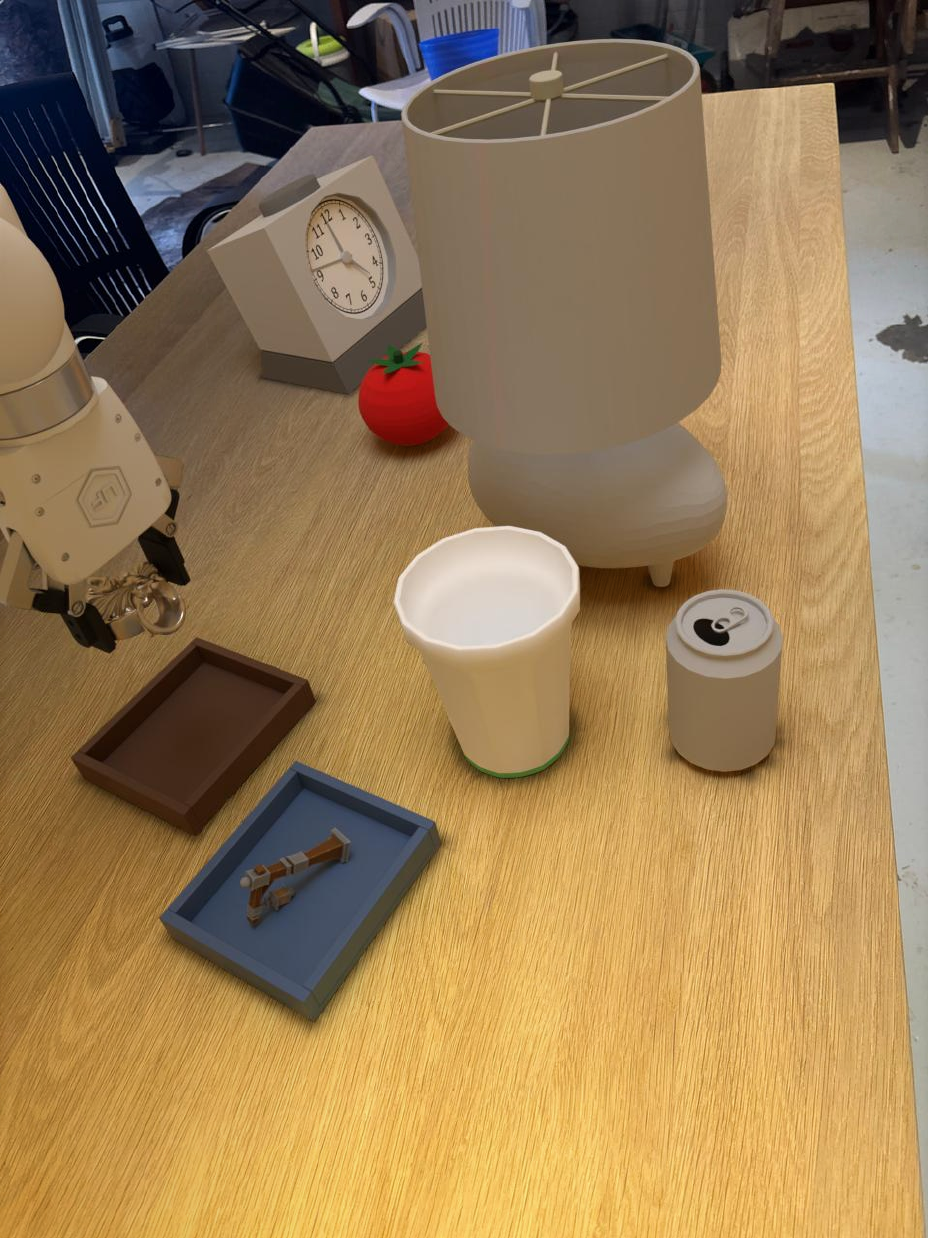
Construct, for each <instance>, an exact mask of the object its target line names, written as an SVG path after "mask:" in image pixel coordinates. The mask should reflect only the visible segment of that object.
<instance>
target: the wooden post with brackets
mask: <svg viewBox="0 0 928 1238" xmlns="http://www.w3.org/2000/svg"><path fill="white" fill-rule="evenodd" d="M349 849H350V841H349V840H348V839H347V838H346V837H345V836H344V835H343V834H342V833H340V832H339V831H338V830H337V829H336V828H334V829H333V830H331V833H330V838H328V839H327V840H326V841H324V842H322V843H321V844H319V845H317V846H316V847H314V848H312V849H311V850H309V851H307V852H304V853H302V852H301V851H300V852H299V853H297V854H294V855H292V856H286V860H285V859H284V858H282V859H280V860H279V862H278V863H275V864H272V865H270V866H267V867H264V866H263V865H261V864H260V865H257V866H255V867H254V869H252V870H249V871H246V874H245V877H243V878H242V879H241V881H240V885H241V886H242V887H243V888H248V887H249V888H250V889H251V892H250V900H249V902H248V904H247V912H248V913H247V915H248V916H247V920H248V921H249V922H250V923H251V924H254V923H257V922H259V914H261V908H263V907H265V906H266V907H268V908H269V905H270V906H271V905H272V906H273V907H274V908H275V909H276V910H278V906H279V905H282V904H285V903H290V900H291V897H292V896H293V895H294V894H295V890H294V889H293V888H291V887H290V888H287V887H286V886H285V885H283V886H282V887H281V888H279V889H277V890H275V891H272V890H271V889H269V887H270V886H271V884H272V883H273V882H274V880H275V879H278V878H281V877H285V878H286V879H287V878H290V874H292V875H293V876H294V875H296V874H297V873H300V872H302V871H306V870H308V867H310V866H312V865H315V864H318V863H322V862H325V861H329V860H332V859H339V860H340V861H341V862H342V863H344V862H348V856H349ZM268 889H269V897H267V899H266V897H264V901H263V902H262V903H261V900H262V897H263V896H264V894H265V893H266V891H267V890H268ZM263 903H264V904H263Z"/></svg>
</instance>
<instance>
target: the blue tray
mask: <svg viewBox="0 0 928 1238" xmlns="http://www.w3.org/2000/svg"><path fill="white" fill-rule="evenodd" d="M334 828H336V829H337V830H338V831H339V832H340V833H342V834H343V835H344V836H345V837H346V838H347V839H348V840H349V841H350V849H349V856H348V862H344V863H342V862H341V861H340V860H339V859H332V860H329V861H325V862H322V863H318V864H315V865H312V866H310V867H308V870H306V871H302V872H300V873H297V874H296V875H294V876H293V875H292V874H290V878H287V879H286V878H285V877H281V878H278V879H275V880H274V882H273V883H272V884H271V886H270V887H269V889H271V890H272V891H275V890H277V889H279V888H281V887H282V886H283V885H285V886H286V887H287V888H290V887H291V888H293V889H294V890H295V894H294V895H293V896H292V897H291V900H290V903H285V904H282V905H279V906H278V910H276V909H275V908H274V907H273V906H272V905H271V906H270V905H269V908H268V907H266V906H265V907H263V908H261V914H259V922H257V923H254V924H251V923H250V922H249V921H248V920H247V916H248V915H247V913H248V912H247V904H248V902H249V900H250V892H251V889H250V888H249V887H248V888H243V887H242V886H241V885H240V881H241V879H242V878H243V877H245V874H246V871H249V870H252V869H254V867H255V866H257V865H260V864H261V865H263V866H264V867H267V866H270V865H272V864H275V863H278V862H279V860H280V859H282V858H284V859H285V860H286V856H292V855H294V854H297V853H299V852H300V851H301V852H302V853H304V852H307V851H309V850H311V849H312V848H314V847H316V846H317V845H319V844H321V843H322V842H324V841H326V840H327V839H328V838H330V833H331V830H333V829H334ZM441 845H442V841H441V837H440V833H439V829H438V826H437V823H436V821H435V820H433V819H431V818H428V817H426V816H424V815H422V814H420V813H417V812H414V811H412V810H410V809H408V808H405V807H403V806H401V805H398V804H397V803H394V802H392V801H390V800H387V799H385V798H382V797H381V796H378V795H376V794H373V793H371V792H369V791H367V790H364V789H362V788H360V787H358V786H355V785H353V784H350V783H349V782H346V781H343V780H341V779H339V778H337V777H335V776H332V775H330V774H328V773H325V772H324V771H321V770H318V769H317V768H314V767H311V766H309V765H307V764H306V763H302V762H301V761H298V760H294V761H293V763H292V764H291V765H290V766H289V768H287V770H286V771H285V772H284V773H283V774H282V776H281V777H280V778H279V779H278V780H277V781H276V782H275V783H274V784H273V786H272V787H271V788H270V789H269V790H268V792H267V793H266V794H265V795H264V796H263V798H261V800H260V801H259V802H258V803H257V804H256V806H254V808H253V809H252V810H251V811H250V812H249V813H248V815H246V817H245V818H244V819H243V821H241V823H240V824H239V825H238V826H237V827H236V828H235V829H234V831H233V832H232V833H231V834H230V835H229V837H228V838H227V839H226V840H225V841H224V842H223V843H222V845H220V847H219V848H218V849H217V850H216V852H215V853H214V854H213V855H212V856H211V857H210V858H209V859H208V861H207V862H206V863H205V864H204V865H203V866H202V868H201V869H200V870H199V871H198V872H197V874H196V875H195V876H194V877H193V878H192V879H191V880H190V881H189V883H188V884H187V885H186V886H185V887H184V889H182V891H181V892H180V893H179V894H177V896H176V897H175V898H174V900H173V901H172V902H171V903H170V904H169V906H167V908H166V909H164V911H163V912H162V913H161V914H160V916H159V917H158V919H159V920H160V922H161V923H162V926H163V927H164V928H165V929H166V932H167V933H168V935H170V937H171V938H172V939H173V940H175V941H176V942H178V943H180V944H181V945H183V946H185V947H187V948H188V949H190V950H192V951H193V952H195V953H196V954H199V955H200V956H202V957H203V958H204V959H207V960H208V961H210V962H212V963H214V964H215V965H217V966H218V967H220V968H222V969H224V970H225V971H226V972H229V973H230V974H232V975H234V976H235V977H237V978H239V979H241V980H242V981H244V982H246V983H247V984H249V985H251V986H252V987H254V988H256V989H257V990H259V991H261V992H263V993H264V994H266V995H268V996H269V997H271V998H273V999H274V1000H276V1001H278V1002H280V1003H281V1004H283V1005H285V1006H286V1007H288V1008H289V1009H291V1010H293V1011H294V1012H296V1013H298V1014H300V1015H301V1016H303V1017H305V1018H306V1019H308V1020H309V1021H311V1022H313V1023H315V1022H316V1020H318V1017H319V1016H320V1015H321V1013H322V1012H323V1011H324V1010H325V1008H326V1007H327V1005H328V1003H329V1002H330V1000H332V998H333V996H334V995H335V994H336V992H337V991H338V990H339V988H340V987H341V986H342V984H343V983H344V982H345V980H346V978H348V975H349V974H350V973H351V971H352V970H353V968H354V967H355V966H356V964H357V963H358V961H359V960H360V959H361V958H362V956H363V954H364V953H365V952H366V950H367V949H368V947H370V945H371V944H372V942H373V940H374V939H375V938H376V936H377V935H378V933H379V932H380V930H381V929H382V928H383V926H384V925H385V923H386V922H387V921H388V919H389V918H390V917H391V915H392V913H393V912H394V911H395V909H396V908H397V907H398V905H399V904H400V903H401V901H402V900H403V898H404V897H405V895H406V894H407V893H408V891H409V890H410V889H411V887H412V885H413V884H414V883H415V881H416V880H417V879H418V877H419V876H420V874H421V873H422V872H423V870H424V869H425V868H426V866H427V865H428V863H429V862H430V861H431V859H432V857H433V856H434V855H435V853H436V852H437V850H438V849H439V848H440V847H441ZM269 889H268V890H267V891H266V893H265V894H264V896H263V897H262V900H261V903H262V902H263V901H264V897H266V899H267V897H269ZM263 904H264V903H263Z"/></svg>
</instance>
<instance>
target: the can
mask: <svg viewBox="0 0 928 1238" xmlns="http://www.w3.org/2000/svg"><path fill="white" fill-rule="evenodd" d="M783 643H784V635H783V632H782V630H781V627H780V624H779V623H778V622H777V621H776V619H775V618H774V617H773V613H772V610H771V609H770V608H769V607H768V606H767V605H766V603H765V602H764V601H763V600H761V599H759V598H757V597H756V596H754V595H753V594H750V593H748V592H743V591H740V590H737V589H736V590H735V589H723V588H721V589H713V590H707V591H703V592H701V593H698V594H695V595H693V596H691V597H690V598H688V599H687V600H686V601H684V602H683V604H682V605H681V606H680V607H679V609H678V610H677V612H676V614H675V616H674V617H673V618H672V620H671V621H670V623H669V625H668V626H667V630H666V635H665V657H666V658H665V660H666V688H667V690H666V691H667V711H668V712H667V714H668V715H667V717H668V732H669V738H670V742H671V744H672V745H673V747H674V749H675V750H676V751H677V753H678V754H679V755H680V756H681V757H683V758H684V759H685V760H686V761H688V762H689V763H690V764H692V765H694V766H698V767H699V768H702V769H705V770H709V771H717V772H721V773H722V772H723V773H725V772H733V771H735V772H736V771H742V770H745V769H747V768H750V767H752V766H755V765H757V764H758V763H760V762H761V761H762V760H764V759H765V758H766V757H767V756H769V754H770V752H771V751H772V749H773V747H774V745H775V744H776V736H777V727H778V713H779V700H780V698H779V697H780V685H781V684H780V683H781V670H782V657H783V656H782V655H783Z"/></svg>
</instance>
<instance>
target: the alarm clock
mask: <svg viewBox="0 0 928 1238" xmlns="http://www.w3.org/2000/svg"><path fill="white" fill-rule="evenodd" d="M258 209H259V211H260V213H261V215H259V216H258V217H256V218H255V219H253V220H251V221H249V223H247V224H245V225H244V226H242V227H241V228H239V229H238V230H236V231H235V232H233V233H232V234H229V236H227V237H226V238H224V239H222V240H221V241H220V242H218V243H216V244H215V245H213V246H212V247H210V248H209V249H208V250H206V252H207V254H208V256H209V258H210V259H211V261H212V263H213V265H214V267H215V268H216V271H217V272H218V274H219V276H220V278H221V280H222V282H223V283H224V285H225V287H226V289H227V291H228V293H229V294H230V297H231V298H232V300H233V303H234V304H235V306H236V308H237V310H238V311H239V313H240V315H241V317H242V319H243V321H244V323H245V324H246V327H247V328H248V330H249V332H250V334H251V336H252V338H253V339H254V341H255V343H256V345H257V347H258V348H259V350H261V351H260V359H261V375H262V378H263V379H269V380H272V381H273V380H274V381H279V382H283V383H288V384H294V385H298V386H304V387H309V388H315V389H318V390H323V391H330V392H335V393H340V394H346V395H350V394H351V393H352V392H353V391H355V390H356V389H357V388H358V387H360V385H361V383H362V381H363V379H364V377H365V376H366V374H367V372H368V371H369V370H370V368H371V367H373V366H374V365H375V363H372V362H369V361H367V360H379V359H383V358H385V357H387V356H388V353H387V346H388V344H389V345H391V346H392V347H394V348H395V349H396V350H398V351H400V350H401V349H402V348H403V347H404V346H406V345H407V344H408V343H409V342H410V341H411V340H412V339H413V338H415V337H416V336H417V335H418V334H419V333H420V332H422V330H423V329H424V328H427V324H426V316H425V308H424V299H423V291H422V283H421V274H420V266H419V258H418V254H417V252H416V250H415V248H414V246H413V243H412V241H411V238H410V236H409V234H408V232H407V230H406V228H405V225H404V223H403V221H402V218H401V216H400V214H399V211H398V209H397V207H396V205H395V202H394V200H393V197H392V195H391V193H390V191H389V188H388V186H387V184H386V181H385V179H384V177H383V175H382V173H381V170H380V167H379V166H378V163H377V161H376V158H375V157H374V155H373V154H372V155H370V156H368V157H365V158H363V159H360V160H357V161H356V162H353V163H351V164H348V165H346V166H344V167H342V168H339V169H337V170H335V171H332V172H330V173H327V174H326V175H323V176H321V177H318V178H317V177H316V175H314V174H313V173H311V174H307V175H304V176H303V177H300V178H297V179H296V180H293V181H292V182H290V183H288V184H286V185H284V186H282V187H281V188H279V189H277V190H275V191H274V192H272V193H270V194H269V195H267V196H266V197H264V198H263V199H261V200H260V201H259V202H258Z"/></svg>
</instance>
